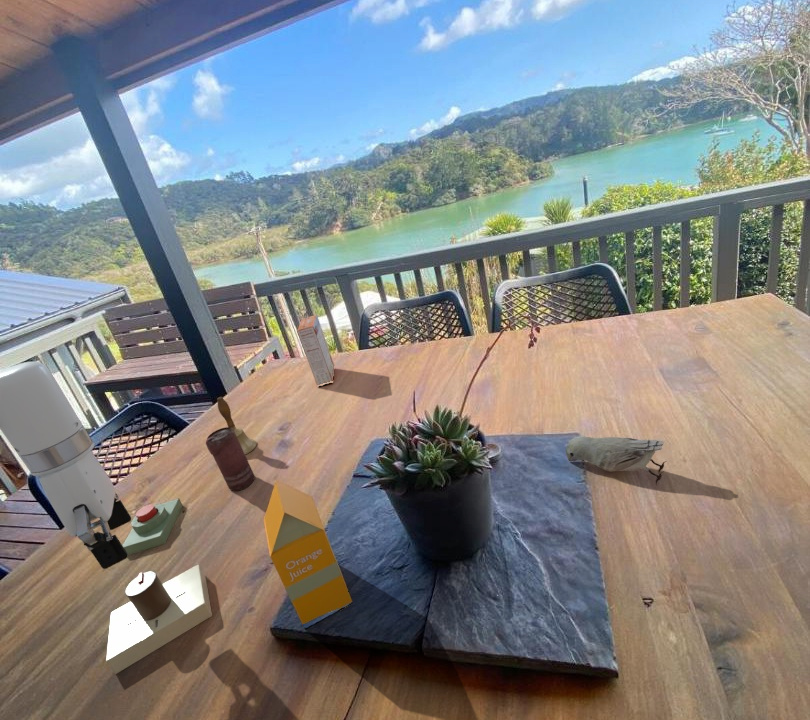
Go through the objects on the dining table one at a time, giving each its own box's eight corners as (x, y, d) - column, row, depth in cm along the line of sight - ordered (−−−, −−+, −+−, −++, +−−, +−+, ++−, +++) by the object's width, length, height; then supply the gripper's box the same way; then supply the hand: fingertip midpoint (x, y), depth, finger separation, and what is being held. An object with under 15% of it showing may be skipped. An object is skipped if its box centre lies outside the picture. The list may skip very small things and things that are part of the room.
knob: (171, 609, 68) (154, 583, 66) (141, 626, 67) (123, 600, 64) (170, 590, 72) (155, 564, 70) (142, 605, 70) (125, 580, 68)
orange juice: (304, 630, 63) (254, 526, 55) (294, 586, 70) (249, 489, 63) (354, 603, 65) (312, 498, 57) (339, 563, 73) (300, 466, 65)
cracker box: (319, 372, 157) (300, 318, 149) (335, 368, 157) (317, 313, 149) (316, 388, 144) (295, 330, 136) (334, 384, 144) (314, 325, 136)
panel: (115, 674, 63) (104, 660, 62) (119, 624, 72) (110, 611, 71) (212, 616, 69) (204, 602, 68) (205, 575, 77) (198, 563, 76)
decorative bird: (571, 453, 84) (568, 420, 81) (668, 469, 74) (667, 433, 71) (563, 470, 80) (559, 436, 77) (663, 490, 70) (663, 452, 68)
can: (224, 488, 102) (199, 438, 97) (248, 472, 106) (225, 423, 101) (235, 496, 98) (210, 445, 93) (260, 479, 102) (237, 429, 96)
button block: (165, 543, 88) (156, 529, 87) (125, 556, 88) (116, 541, 86) (183, 505, 99) (175, 491, 98) (148, 516, 99) (140, 502, 97)
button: (153, 519, 91) (150, 513, 90) (136, 524, 90) (132, 518, 90) (160, 508, 94) (156, 502, 93) (143, 513, 94) (139, 507, 93)
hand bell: (235, 442, 122) (213, 392, 116) (262, 438, 120) (240, 388, 114) (220, 460, 114) (195, 408, 109) (248, 457, 113) (224, 404, 107)
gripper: (41, 438, 65) (98, 524, 72) (7, 494, 51) (82, 596, 57) (96, 417, 68) (146, 501, 75) (79, 464, 54) (143, 564, 60)
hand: (118, 542), depth 66 cm, fingers open, 9 cm apart
